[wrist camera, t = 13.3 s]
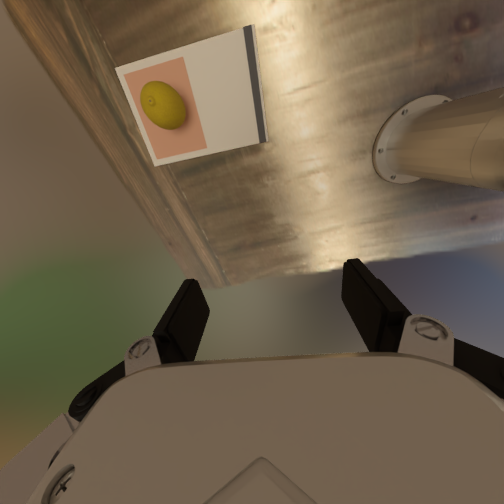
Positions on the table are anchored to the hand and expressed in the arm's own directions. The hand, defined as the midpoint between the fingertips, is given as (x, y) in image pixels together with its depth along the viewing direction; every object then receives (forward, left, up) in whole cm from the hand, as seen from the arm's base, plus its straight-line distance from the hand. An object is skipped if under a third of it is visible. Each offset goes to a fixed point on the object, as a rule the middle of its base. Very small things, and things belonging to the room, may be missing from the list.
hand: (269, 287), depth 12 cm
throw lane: (+9, -16, -28) cm, 34 cm away
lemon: (+13, -16, -28) cm, 35 cm away
